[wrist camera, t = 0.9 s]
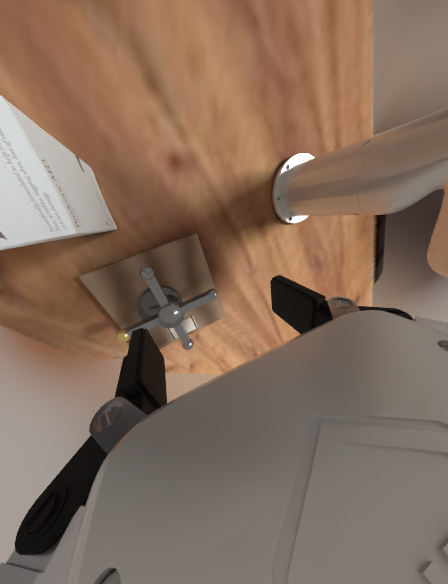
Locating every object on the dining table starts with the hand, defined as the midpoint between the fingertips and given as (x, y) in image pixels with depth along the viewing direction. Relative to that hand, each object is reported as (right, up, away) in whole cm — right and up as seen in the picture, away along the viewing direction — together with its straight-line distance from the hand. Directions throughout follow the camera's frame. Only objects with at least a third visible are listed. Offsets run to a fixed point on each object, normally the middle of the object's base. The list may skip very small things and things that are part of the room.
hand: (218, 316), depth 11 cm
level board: (-11, +1, +22) cm, 24 cm away
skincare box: (-20, +15, +11) cm, 27 cm away
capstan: (-11, 0, +20) cm, 23 cm away
